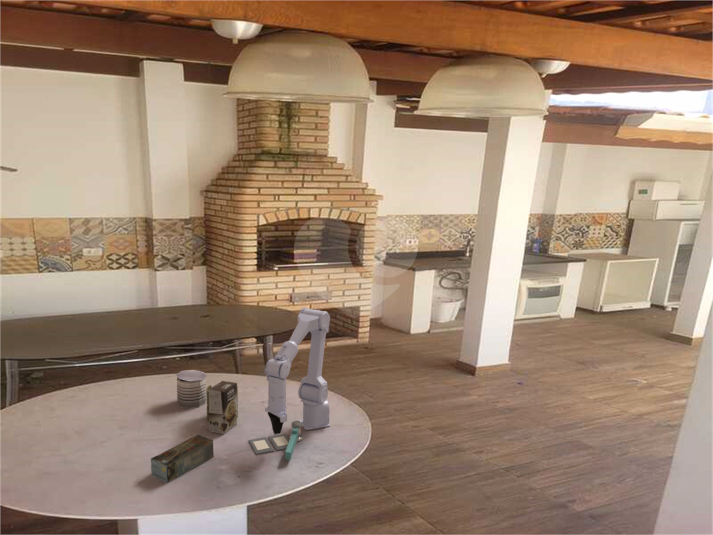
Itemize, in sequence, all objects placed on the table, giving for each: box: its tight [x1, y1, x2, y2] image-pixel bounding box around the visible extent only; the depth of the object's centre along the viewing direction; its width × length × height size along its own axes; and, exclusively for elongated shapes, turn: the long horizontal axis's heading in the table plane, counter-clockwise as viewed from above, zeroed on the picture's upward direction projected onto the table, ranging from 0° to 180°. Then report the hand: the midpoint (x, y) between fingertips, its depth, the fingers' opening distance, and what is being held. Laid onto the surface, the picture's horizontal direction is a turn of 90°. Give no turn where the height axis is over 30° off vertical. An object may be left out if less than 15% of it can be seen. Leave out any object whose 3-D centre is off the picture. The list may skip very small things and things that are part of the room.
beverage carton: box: [150, 433, 215, 484], centre depth 175 cm, size 8×19×7 cm, turn 147°
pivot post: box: [288, 427, 305, 443], centre depth 195 cm, size 5×5×4 cm
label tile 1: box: [248, 436, 275, 456], centre depth 189 cm, size 6×10×1 cm, turn 25°
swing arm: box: [284, 420, 303, 461], centre depth 187 cm, size 19×4×4 cm, turn 177°
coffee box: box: [208, 380, 238, 435], centre depth 200 cm, size 9×6×16 cm
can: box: [175, 369, 208, 409], centre depth 220 cm, size 11×11×12 cm
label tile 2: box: [267, 433, 290, 452], centre depth 192 cm, size 6×10×1 cm, turn 25°
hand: (277, 433), depth 185 cm, fingers closed
